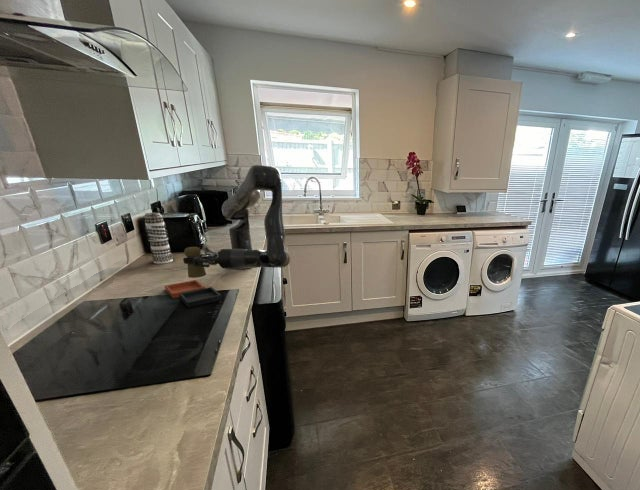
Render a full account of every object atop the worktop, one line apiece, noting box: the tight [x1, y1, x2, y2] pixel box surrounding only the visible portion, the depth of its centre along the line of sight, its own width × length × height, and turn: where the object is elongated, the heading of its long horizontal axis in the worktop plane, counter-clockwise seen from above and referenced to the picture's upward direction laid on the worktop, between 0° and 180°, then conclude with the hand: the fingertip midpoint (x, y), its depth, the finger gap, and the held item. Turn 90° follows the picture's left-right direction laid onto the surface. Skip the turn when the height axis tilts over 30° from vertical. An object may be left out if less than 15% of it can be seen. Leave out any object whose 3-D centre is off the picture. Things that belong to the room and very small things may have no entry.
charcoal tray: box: [179, 286, 223, 309], centre depth 126 cm, size 12×12×2 cm
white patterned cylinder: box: [143, 212, 174, 265], centre depth 165 cm, size 9×9×25 cm
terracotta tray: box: [164, 279, 206, 299], centre depth 133 cm, size 12×12×2 cm
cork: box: [183, 246, 207, 279], centre depth 122 cm, size 6×6×11 cm
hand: (187, 259), depth 121 cm, fingers closed on cork, 4 cm apart
